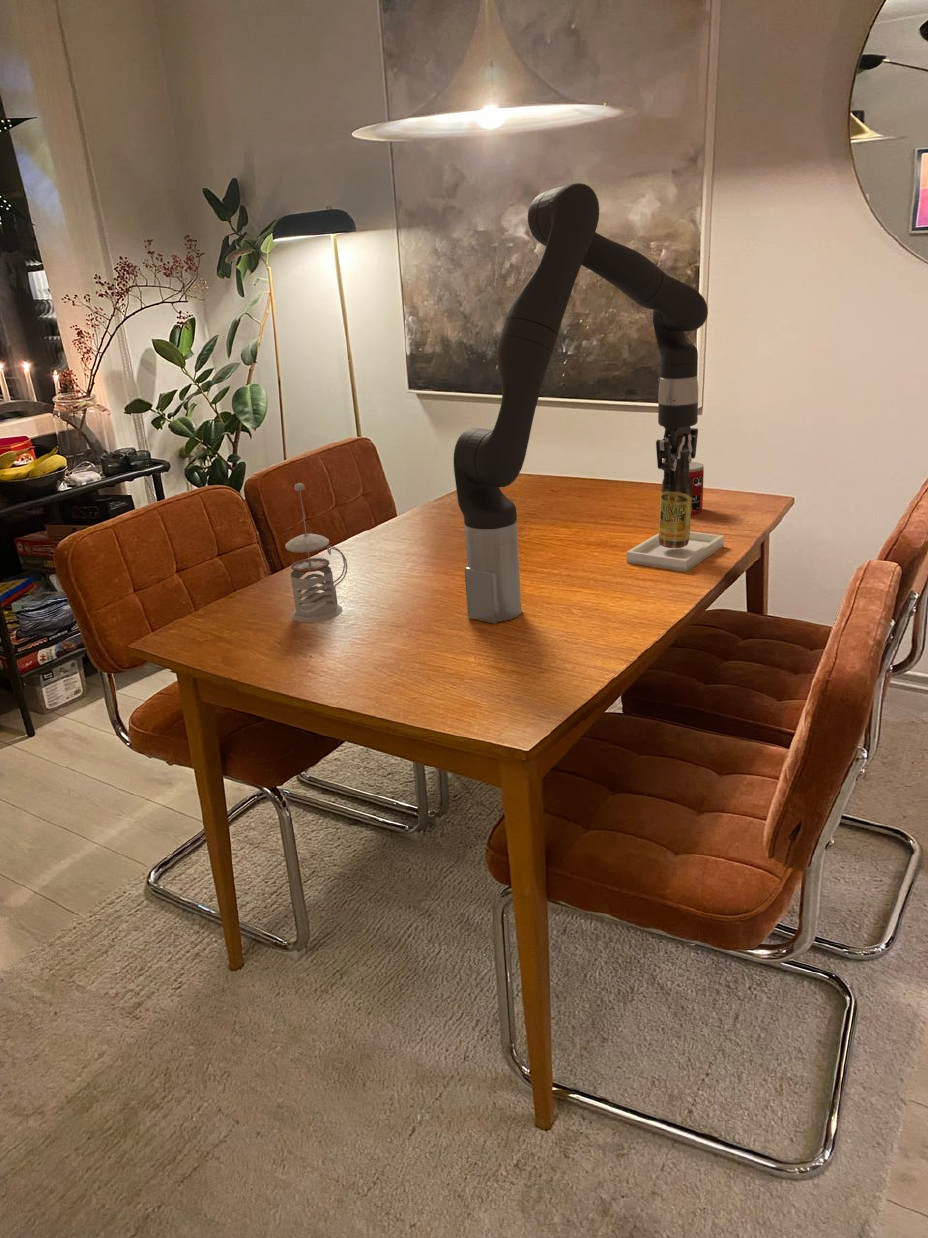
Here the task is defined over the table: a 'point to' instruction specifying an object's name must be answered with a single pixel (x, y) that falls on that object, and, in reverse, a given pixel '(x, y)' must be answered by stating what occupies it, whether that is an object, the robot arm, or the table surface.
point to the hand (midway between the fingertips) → (676, 484)
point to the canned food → (696, 486)
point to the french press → (315, 603)
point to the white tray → (675, 552)
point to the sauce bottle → (676, 507)
